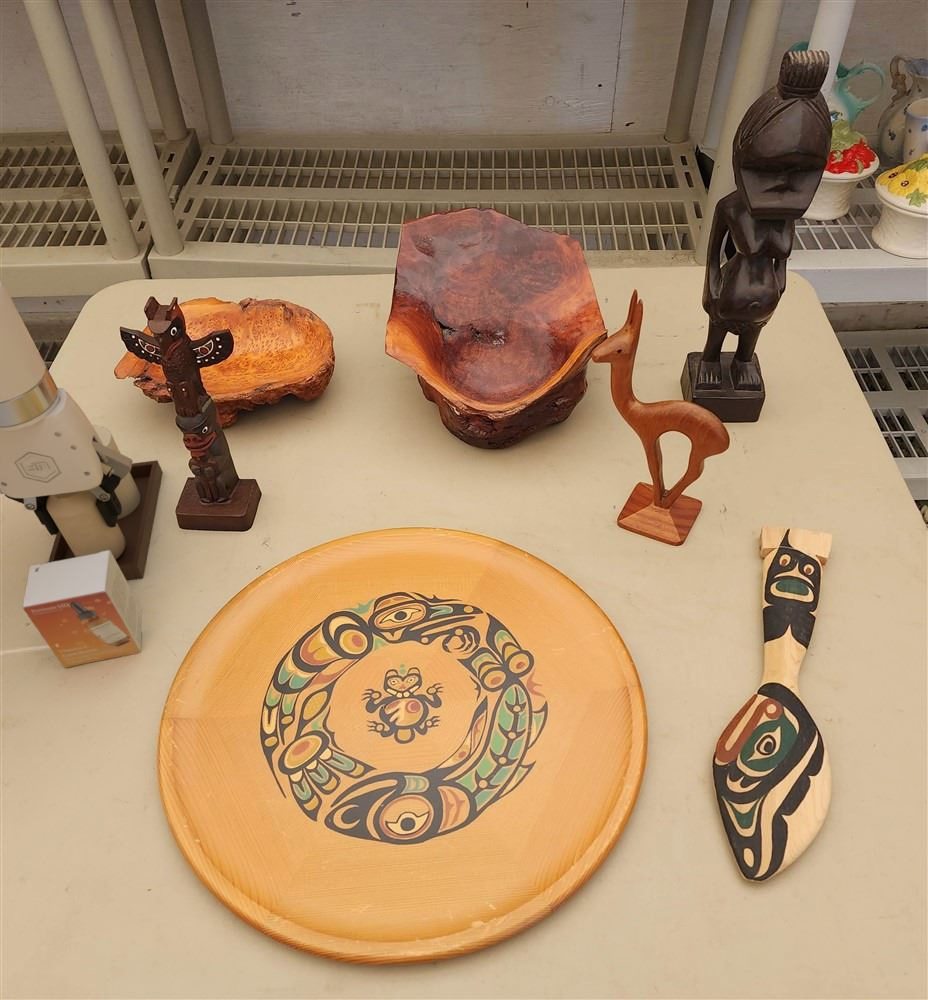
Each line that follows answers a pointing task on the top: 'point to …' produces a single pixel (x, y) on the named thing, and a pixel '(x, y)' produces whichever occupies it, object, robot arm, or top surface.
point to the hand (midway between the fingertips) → (85, 520)
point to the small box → (84, 609)
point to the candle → (84, 524)
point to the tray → (129, 524)
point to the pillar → (127, 486)
